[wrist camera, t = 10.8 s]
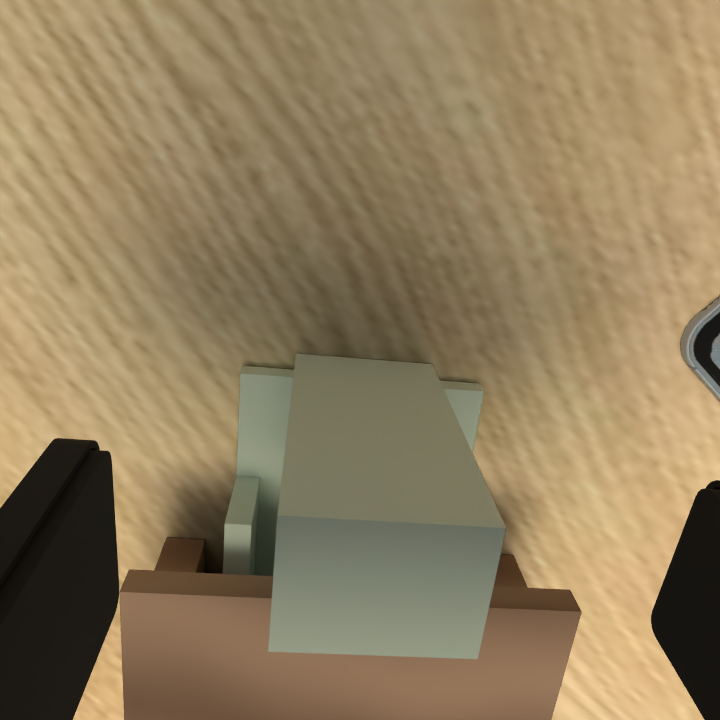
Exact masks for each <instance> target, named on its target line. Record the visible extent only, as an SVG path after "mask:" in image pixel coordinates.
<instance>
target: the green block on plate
mask: <svg viewBox="0 0 720 720" xmlns="http://www.w3.org/2000/svg"><path fill="white" fill-rule="evenodd" d="M483 395H484V390H483V389H482V387H481V385H480V384H479V383H466V382H452V381H440V380H439V378H438V375H437V373H436V371H435V369H434V367H433V364H424V363H411V362H398V361H385V360H372V359H360V358H347V357H334V356H321V355H308V354H296V358H295V367H294V370H293V369H280V368H266V367H253V366H243V367H242V370H241V373H240V396H239V421H238V446H237V471H236V479H235V483H234V487H233V491H232V495H231V500H230V504H229V508H228V512H227V516H226V520H225V527H224V557H223V574H236V575H258V576H273V588H272V603H271V618H270V632H269V647H268V652H292V653H319V654H347V655H375V656H403V657H430V658H458V659H478V655H479V651H480V646H481V642H482V637H483V633H484V628H485V623H486V619H487V614H488V610H489V605H490V600H491V596H492V591H493V587H494V582H495V577H496V573H497V568H498V564H499V559H500V555H501V550H502V545H503V541H504V536H505V532H506V526H505V524H504V522H503V520H502V517H501V515H500V513H499V511H498V509H497V506H496V504H495V502H494V500H493V497H492V495H491V493H490V491H489V489H488V486H487V484H486V482H485V480H484V478H483V475H482V473H481V471H480V469H479V466H478V464H477V462H476V460H475V458H474V455H473V449H474V443H475V438H476V432H477V427H478V422H479V416H480V411H481V406H482V400H483Z"/></svg>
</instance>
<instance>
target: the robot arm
mask: <svg viewBox="0 0 720 720" xmlns="http://www.w3.org/2000/svg"><path fill="white" fill-rule="evenodd" d="M118 598H119V576H118V559H117V542H116V526H115V509H114V492H113V475H112V460H111V455H110V452H108V451H100V449H99V445H98V443H97V442H96V441H93V440H77V439H62V438H57V439H54V440H53V441H52V442H51V443H50V445H49V446H48V447H47V448H46V450H45V451H44V452H43V454H42V455H41V456H40V458H39V459H38V460H37V461H36V463H35V464H34V465H33V467H32V468H31V469H30V470H29V472H28V473H27V474H26V476H25V477H24V478H23V480H22V481H21V482H20V483H19V485H18V486H17V487H16V489H15V490H14V491H13V493H12V494H11V495H10V496H9V498H8V499H7V500H6V502H5V503H4V504H3V506H2V507H1V508H0V720H73V717H74V715H75V712H76V710H77V707H78V705H79V702H80V700H81V697H82V695H83V692H84V690H85V687H86V685H87V682H88V680H89V677H90V675H91V672H92V670H93V667H94V665H95V662H96V660H97V657H98V655H99V652H100V650H101V647H102V645H103V642H104V640H105V637H106V635H107V632H108V630H109V627H110V625H111V622H112V620H113V617H114V615H115V612H116V608H117V604H118ZM651 624H652V629H653V633H654V635H655V637H656V639H657V640H658V642H659V644H660V645H661V647H662V649H663V650H664V652H665V654H666V655H667V657H668V659H669V661H670V662H671V664H672V666H673V667H674V669H675V671H676V672H677V674H678V676H679V677H680V679H681V681H682V682H683V684H684V686H685V687H686V689H687V691H688V692H689V694H690V696H691V697H692V699H693V701H694V703H695V704H696V706H697V708H698V709H699V711H700V713H701V714H702V716H703V718H704V719H705V720H720V481H719V480H716V481H713V482H711V483H710V484H708V485H707V487H706V489H701V490H700V491H699V492H698V493H697V495H696V497H695V500H694V503H693V505H692V508H691V510H690V513H689V516H688V518H687V521H686V524H685V526H684V529H683V532H682V534H681V537H680V539H679V542H678V545H677V547H676V550H675V553H674V555H673V558H672V561H671V563H670V566H669V568H668V571H667V574H666V576H665V579H664V582H663V584H662V587H661V590H660V592H659V595H658V597H657V600H656V603H655V605H654V608H653V611H652V615H651Z"/></svg>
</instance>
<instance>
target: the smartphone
mask: <svg viewBox="0 0 720 720" xmlns="http://www.w3.org/2000/svg"><path fill="white" fill-rule="evenodd" d="M681 354H682V357H683V359H684V361H685V362H686V364H687V365H688V366H689V367H690V368H691V370H692V371H693V372H694V373H695V374H696V375H697V376H698V378H699V379H700V380H701V381H702V382H703V383H704V384H705V386H706V387H707V388H708V389H709V390H710V391H711V392H712V394H713V395H714V396H715V397H716V398H717V399H718V400H719V402H720V296H719V298H718V299H717V300H714V301H713V304H711V305H708V306H707V309H706V310H702V311H701V312H700V313H699V314H697V315H696V316H695V317H694V318H693V319H692V320H691V321H690V323H689V324H688V325H687V327H686V329H685V330H684V332H683V335H682V338H681Z"/></svg>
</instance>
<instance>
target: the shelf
mask: <svg viewBox="0 0 720 720" xmlns="http://www.w3.org/2000/svg"><path fill="white" fill-rule="evenodd" d="M204 553H205V540H204V539H184V538H166V541H165V543H164V546H163V549H162V551H161V554H160V557H159V559H158V562H157V565H156V567H155V570H154V571H149V570H129V571H128V574H127V576H126V578H125V581H124V583H123V585H122V587H121V590H120V617H121V644H122V670H123V697H124V720H551V718H552V715H553V711H554V708H555V704H556V701H557V697H558V694H559V690H560V687H561V683H562V679H563V676H564V672H565V669H566V665H567V662H568V658H569V655H570V651H571V648H572V644H573V641H574V637H575V633H576V630H577V626H578V623H579V619H580V616H581V610H580V608H579V606H578V604H577V602H576V600H575V598H574V596H573V595H572V593H571V591H570V590H562V589H540V588H528V587H527V585H526V583H525V580H524V578H523V576H522V574H521V571H520V569H519V567H518V564H517V562H516V560H515V558H514V555H500V559H499V564H498V568H497V573H496V577H495V582H494V587H493V591H492V596H491V600H490V605H489V610H488V614H487V619H486V623H485V628H484V633H483V637H482V642H481V646H480V651H479V655H478V659H458V658H430V657H403V656H375V655H347V654H319V653H292V652H268V647H269V632H270V618H271V603H272V588H273V576H258V575H236V574H214V573H204Z"/></svg>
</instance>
